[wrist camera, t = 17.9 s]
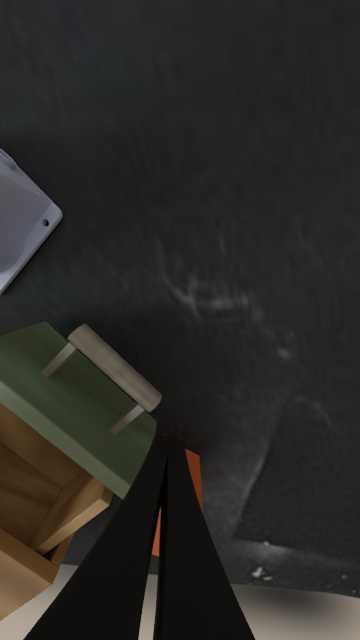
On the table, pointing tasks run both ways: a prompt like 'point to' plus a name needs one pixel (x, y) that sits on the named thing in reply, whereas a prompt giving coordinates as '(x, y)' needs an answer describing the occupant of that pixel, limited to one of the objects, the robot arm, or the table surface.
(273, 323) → the table surface
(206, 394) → the table surface
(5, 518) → the drawer
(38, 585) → the cabinet
